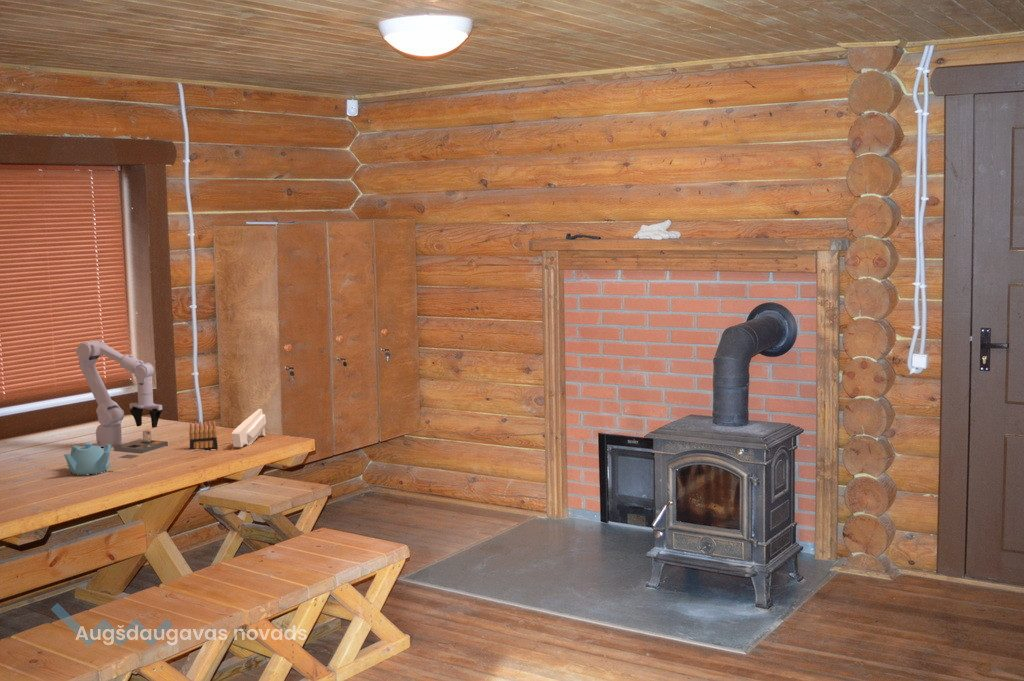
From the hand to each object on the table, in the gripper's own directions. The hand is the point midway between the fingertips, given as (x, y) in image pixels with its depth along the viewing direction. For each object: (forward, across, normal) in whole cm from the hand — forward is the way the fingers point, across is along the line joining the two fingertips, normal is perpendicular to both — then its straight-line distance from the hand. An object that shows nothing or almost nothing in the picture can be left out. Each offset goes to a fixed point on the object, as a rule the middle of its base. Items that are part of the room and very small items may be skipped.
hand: (146, 426), depth 423 cm
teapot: (+9, +6, -39) cm, 41 cm away
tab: (+9, +6, -18) cm, 21 cm away
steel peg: (+9, 0, 0) cm, 9 cm away
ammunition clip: (+9, +24, +4) cm, 26 cm away
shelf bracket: (+9, +34, +22) cm, 41 cm away
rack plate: (+9, 0, -4) cm, 10 cm away
